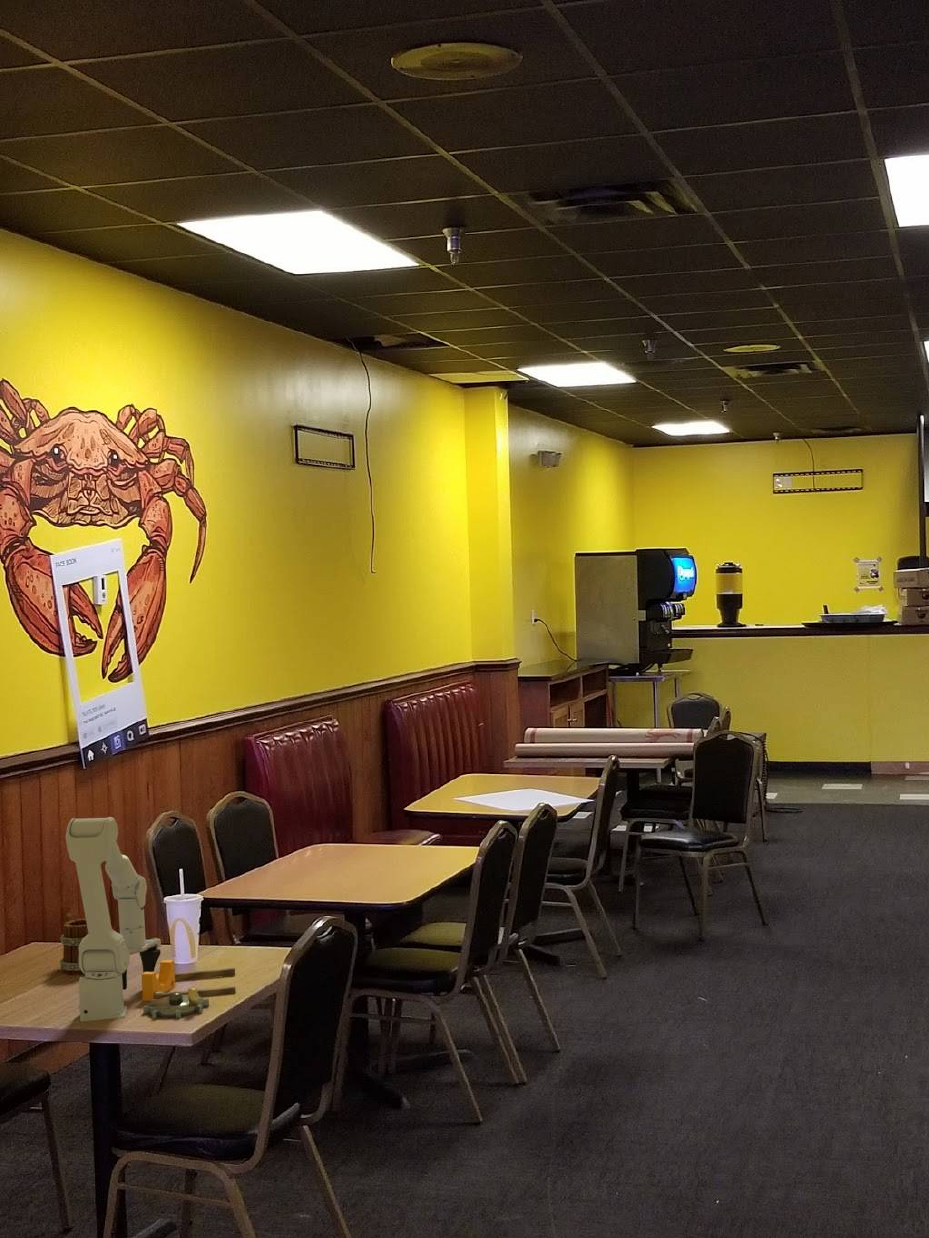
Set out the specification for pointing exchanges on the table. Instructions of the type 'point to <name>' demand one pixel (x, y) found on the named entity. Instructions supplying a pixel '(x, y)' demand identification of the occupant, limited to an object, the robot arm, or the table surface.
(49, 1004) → the table surface
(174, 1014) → the sprocket
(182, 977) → the guide rails
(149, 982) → the pipe clamp
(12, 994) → the table surface
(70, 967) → the mug
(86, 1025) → the table surface
